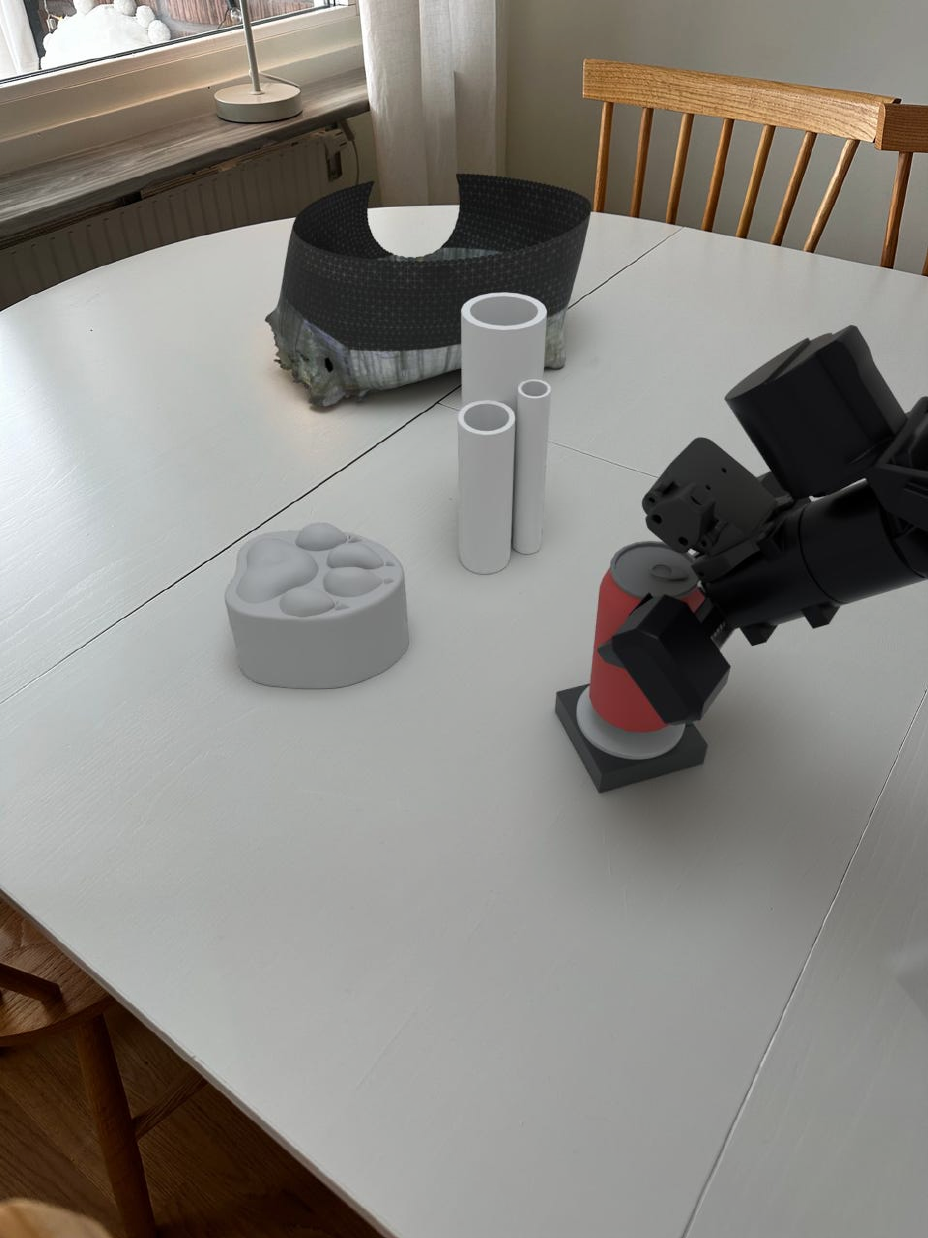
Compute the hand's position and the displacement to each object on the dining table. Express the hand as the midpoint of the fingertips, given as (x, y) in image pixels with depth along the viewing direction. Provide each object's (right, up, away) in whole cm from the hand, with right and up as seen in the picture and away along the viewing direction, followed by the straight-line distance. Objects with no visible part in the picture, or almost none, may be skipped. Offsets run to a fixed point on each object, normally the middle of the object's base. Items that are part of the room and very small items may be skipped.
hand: (628, 624), depth 64 cm
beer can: (+1, -5, +4) cm, 7 cm away
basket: (-14, +31, +49) cm, 60 cm away
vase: (-7, +8, +24) cm, 26 cm away
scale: (+1, -8, +7) cm, 10 cm away
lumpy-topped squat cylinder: (-22, -2, +14) cm, 26 cm away
